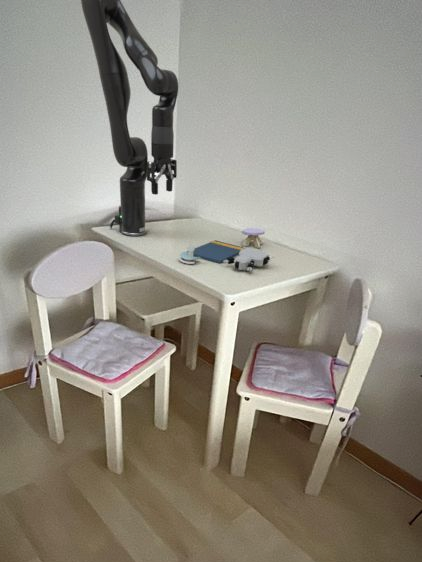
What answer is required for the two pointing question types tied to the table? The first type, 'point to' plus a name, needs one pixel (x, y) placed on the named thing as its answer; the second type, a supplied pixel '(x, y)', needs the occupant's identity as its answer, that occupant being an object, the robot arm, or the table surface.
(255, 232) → the toy table
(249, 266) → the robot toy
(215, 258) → the blue book
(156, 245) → the table surface
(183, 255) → the pacifier
